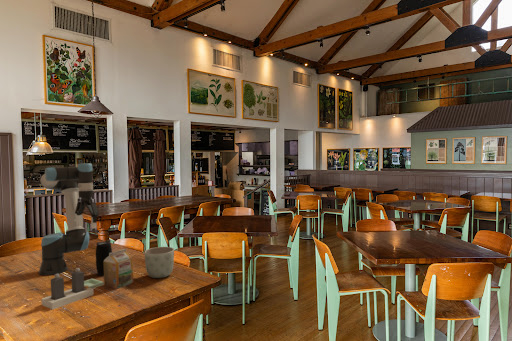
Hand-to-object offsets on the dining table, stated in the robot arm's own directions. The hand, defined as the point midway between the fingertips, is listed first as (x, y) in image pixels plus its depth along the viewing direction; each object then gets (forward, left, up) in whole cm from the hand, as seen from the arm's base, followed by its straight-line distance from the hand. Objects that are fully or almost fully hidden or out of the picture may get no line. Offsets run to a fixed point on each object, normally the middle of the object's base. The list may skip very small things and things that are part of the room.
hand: (87, 227), depth 197 cm
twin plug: (+19, -27, -30) cm, 45 cm away
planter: (+30, +26, -31) cm, 50 cm away
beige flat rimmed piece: (+19, -22, -31) cm, 42 cm away
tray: (+10, -6, -31) cm, 33 cm away
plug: (+19, -17, -30) cm, 39 cm away
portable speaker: (-2, +11, -31) cm, 33 cm away
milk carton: (+22, +4, -31) cm, 38 cm away
